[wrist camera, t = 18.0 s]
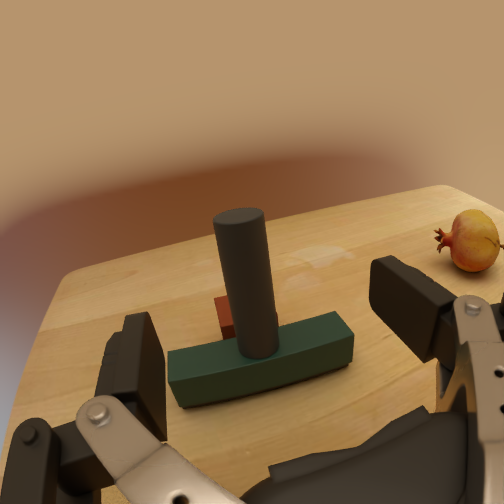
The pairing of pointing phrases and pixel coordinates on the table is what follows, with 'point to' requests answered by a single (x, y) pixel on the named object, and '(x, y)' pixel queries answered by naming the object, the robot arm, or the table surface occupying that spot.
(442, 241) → the fruit
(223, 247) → the wiper
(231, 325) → the rust-brown cube
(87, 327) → the table surface
